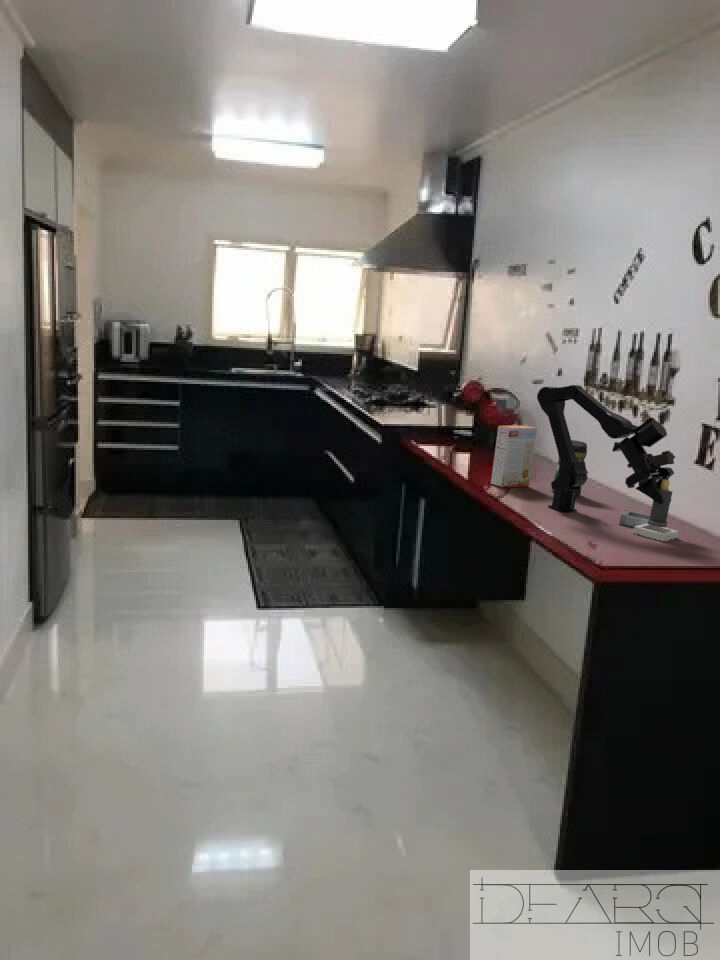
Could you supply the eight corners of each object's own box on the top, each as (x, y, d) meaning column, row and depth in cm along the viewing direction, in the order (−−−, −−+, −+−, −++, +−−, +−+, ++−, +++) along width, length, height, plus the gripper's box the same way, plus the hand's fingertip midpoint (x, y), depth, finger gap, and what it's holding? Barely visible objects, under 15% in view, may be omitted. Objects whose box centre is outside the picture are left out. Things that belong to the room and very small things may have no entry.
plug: (653, 526, 223) (662, 481, 220) (643, 521, 228) (652, 477, 226) (670, 528, 224) (679, 483, 221) (660, 522, 229) (669, 478, 226)
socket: (664, 541, 220) (665, 534, 220) (633, 533, 226) (634, 526, 226) (677, 537, 227) (678, 531, 227) (646, 529, 233) (647, 523, 233)
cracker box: (516, 483, 284) (525, 425, 280) (529, 486, 279) (538, 427, 275) (488, 484, 276) (497, 424, 271) (501, 488, 271) (510, 427, 267)
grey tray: (619, 524, 236) (620, 515, 236) (623, 518, 244) (625, 510, 244) (661, 532, 231) (663, 523, 231) (664, 527, 239) (666, 518, 239)
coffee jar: (576, 492, 278) (585, 440, 275) (582, 497, 271) (591, 443, 267) (549, 489, 279) (557, 437, 275) (553, 494, 271) (562, 440, 267)
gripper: (643, 441, 218) (674, 490, 212) (674, 439, 231) (704, 485, 225) (612, 463, 225) (641, 511, 219) (643, 460, 238) (671, 505, 232)
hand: (665, 502), depth 224 cm, fingers closed on plug, 4 cm apart
